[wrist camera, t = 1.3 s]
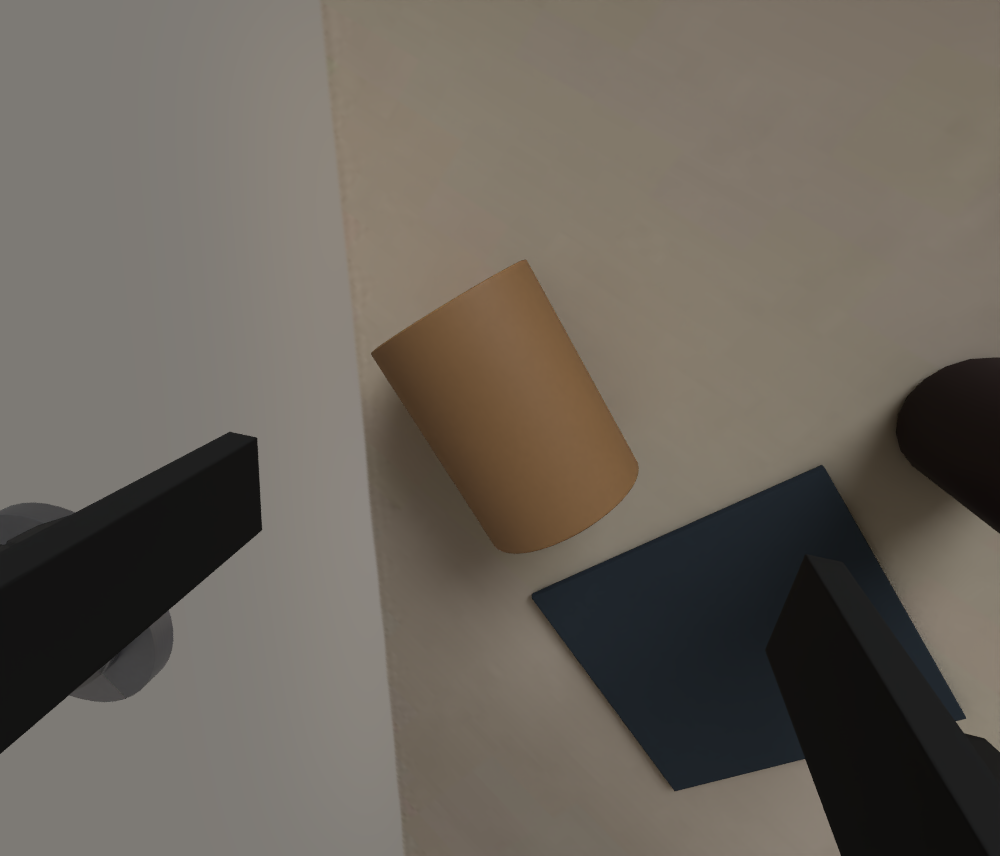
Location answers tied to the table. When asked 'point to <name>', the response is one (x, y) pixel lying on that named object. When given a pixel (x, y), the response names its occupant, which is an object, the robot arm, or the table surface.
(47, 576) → the robot arm
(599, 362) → the table surface
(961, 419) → the bottle
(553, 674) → the table surface
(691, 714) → the slate mat
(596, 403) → the paper roll
